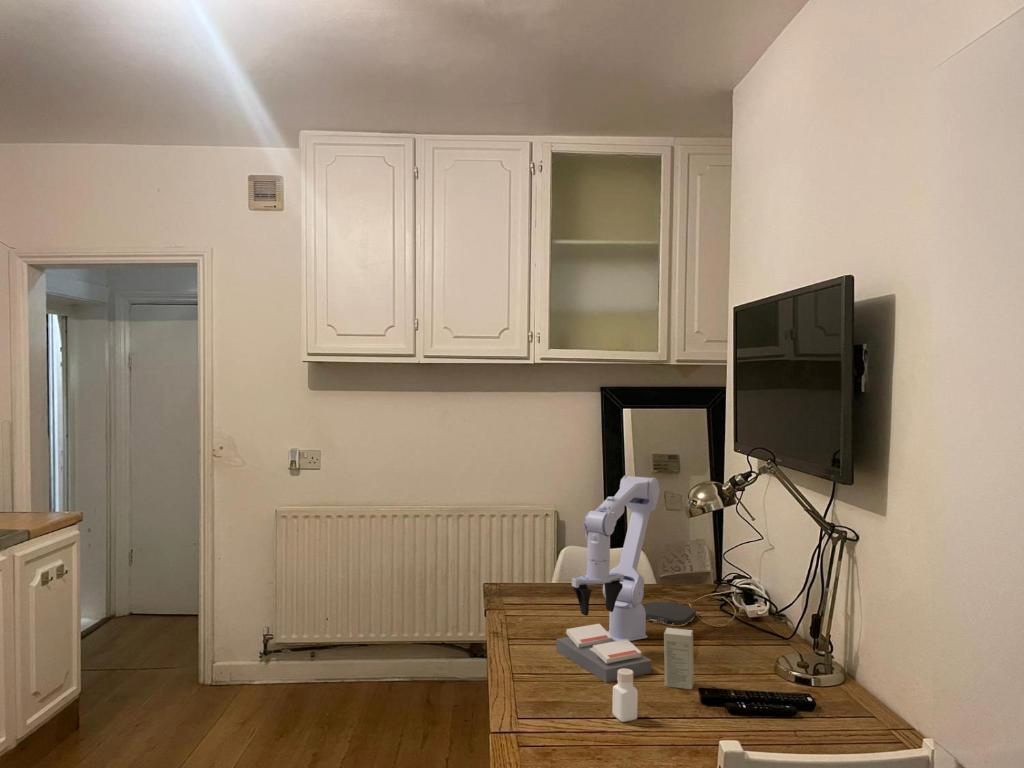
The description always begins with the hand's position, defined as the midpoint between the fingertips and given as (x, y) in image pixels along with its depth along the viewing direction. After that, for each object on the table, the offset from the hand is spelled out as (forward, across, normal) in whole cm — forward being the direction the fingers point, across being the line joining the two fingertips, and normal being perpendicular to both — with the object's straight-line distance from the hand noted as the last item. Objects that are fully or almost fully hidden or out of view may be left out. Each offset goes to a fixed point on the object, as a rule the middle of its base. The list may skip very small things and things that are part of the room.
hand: (597, 612), depth 184 cm
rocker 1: (+6, +2, -1) cm, 7 cm away
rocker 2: (+6, +2, +11) cm, 13 cm away
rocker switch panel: (+10, +2, +5) cm, 12 cm away
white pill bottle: (+11, +15, +32) cm, 37 cm away
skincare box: (+11, -6, +24) cm, 27 cm away
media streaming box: (+10, -35, -15) cm, 40 cm away
